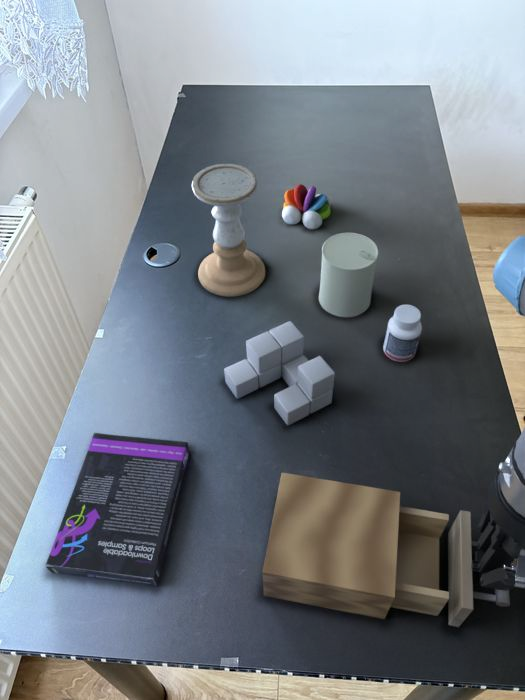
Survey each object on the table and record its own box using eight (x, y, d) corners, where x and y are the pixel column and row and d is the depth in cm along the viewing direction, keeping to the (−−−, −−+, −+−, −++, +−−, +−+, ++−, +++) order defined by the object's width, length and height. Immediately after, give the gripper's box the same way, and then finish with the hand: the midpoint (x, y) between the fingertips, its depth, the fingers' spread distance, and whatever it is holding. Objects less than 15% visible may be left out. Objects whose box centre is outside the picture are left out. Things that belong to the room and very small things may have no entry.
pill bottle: (418, 362, 96) (429, 325, 89) (386, 364, 96) (394, 327, 89) (411, 337, 99) (420, 300, 92) (379, 339, 99) (387, 302, 92)
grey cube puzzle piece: (225, 383, 94) (221, 351, 88) (289, 353, 98) (290, 320, 92) (264, 440, 87) (262, 409, 81) (331, 404, 91) (335, 372, 85)
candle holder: (279, 277, 109) (279, 183, 94) (225, 309, 104) (215, 215, 89) (238, 244, 115) (232, 150, 100) (185, 272, 111) (170, 178, 95)
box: (99, 443, 88) (50, 575, 75) (93, 430, 85) (41, 564, 73) (191, 454, 86) (157, 590, 74) (188, 440, 84) (152, 579, 71)
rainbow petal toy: (291, 200, 124) (291, 169, 118) (335, 210, 121) (338, 180, 116) (276, 224, 119) (276, 193, 113) (322, 235, 116) (324, 205, 111)
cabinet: (390, 521, 79) (400, 491, 72) (384, 620, 71) (395, 597, 64) (281, 502, 81) (281, 472, 74) (263, 597, 73) (262, 572, 66)
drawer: (495, 541, 76) (511, 518, 71) (501, 635, 69) (519, 618, 64) (352, 516, 78) (357, 492, 73) (343, 604, 71) (348, 585, 66)
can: (357, 326, 101) (365, 274, 92) (309, 308, 104) (311, 255, 95) (378, 293, 106) (388, 240, 97) (331, 276, 109) (336, 223, 100)
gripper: (493, 423, 59) (443, 523, 77) (500, 551, 51) (442, 629, 69) (573, 435, 58) (503, 533, 76) (593, 568, 50) (509, 642, 68)
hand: (474, 579), depth 72 cm, fingers closed
